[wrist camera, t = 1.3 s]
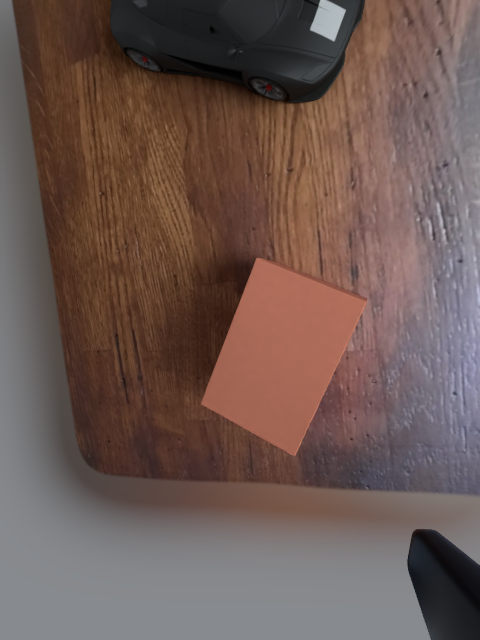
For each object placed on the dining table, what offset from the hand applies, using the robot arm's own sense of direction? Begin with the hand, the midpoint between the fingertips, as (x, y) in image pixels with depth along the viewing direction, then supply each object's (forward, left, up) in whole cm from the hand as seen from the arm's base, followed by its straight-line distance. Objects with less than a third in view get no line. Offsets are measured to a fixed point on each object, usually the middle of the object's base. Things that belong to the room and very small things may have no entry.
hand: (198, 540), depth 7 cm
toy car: (+13, -18, -16) cm, 27 cm away
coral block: (+2, -1, -16) cm, 16 cm away
